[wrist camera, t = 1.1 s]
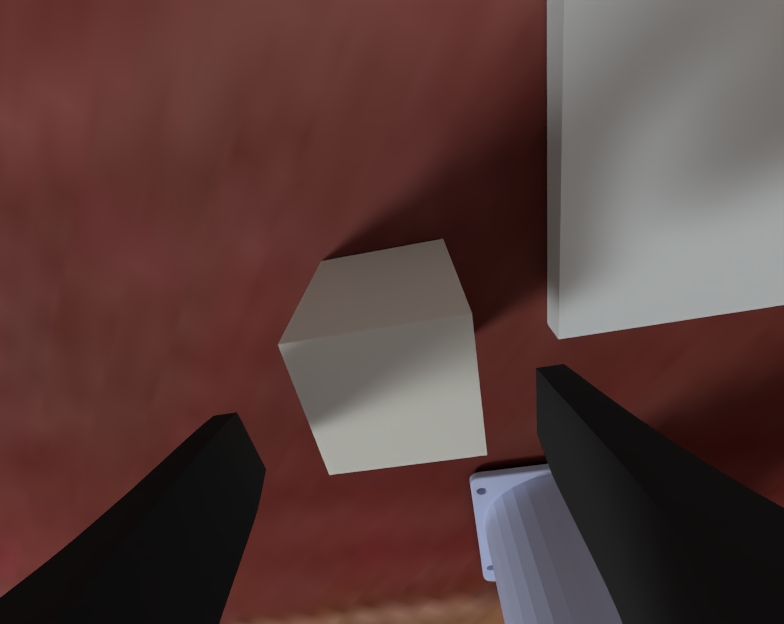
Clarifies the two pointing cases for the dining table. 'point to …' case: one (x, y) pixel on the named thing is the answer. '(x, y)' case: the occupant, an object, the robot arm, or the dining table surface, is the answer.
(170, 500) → the robot arm
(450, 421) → the cream rectangular prism
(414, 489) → the dining table surface
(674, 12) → the light gray slab
